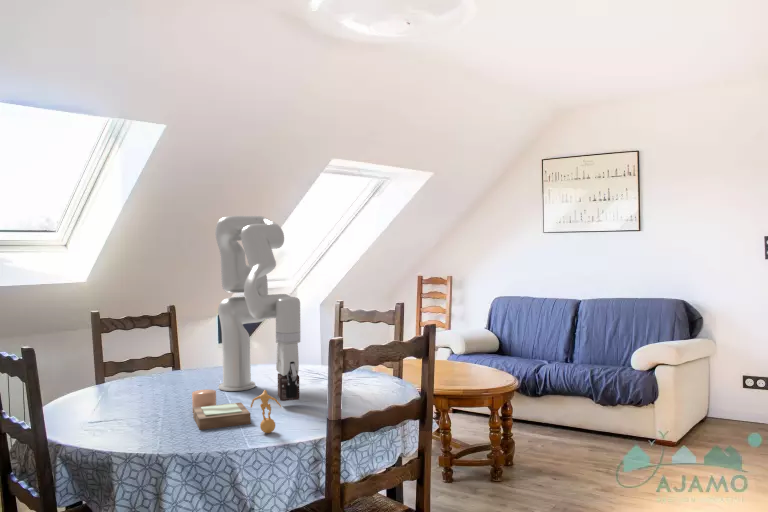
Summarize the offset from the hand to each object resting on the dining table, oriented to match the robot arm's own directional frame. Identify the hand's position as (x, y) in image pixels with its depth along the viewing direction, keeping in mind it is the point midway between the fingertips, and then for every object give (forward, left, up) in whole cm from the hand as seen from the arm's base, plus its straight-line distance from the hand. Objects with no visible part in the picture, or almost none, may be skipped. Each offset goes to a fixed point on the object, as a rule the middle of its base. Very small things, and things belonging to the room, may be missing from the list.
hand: (288, 394), depth 214 cm
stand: (+8, -22, -4) cm, 23 cm away
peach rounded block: (-5, -25, -4) cm, 26 cm away
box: (0, 0, -1) cm, 1 cm away
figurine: (+27, -13, -4) cm, 30 cm away
